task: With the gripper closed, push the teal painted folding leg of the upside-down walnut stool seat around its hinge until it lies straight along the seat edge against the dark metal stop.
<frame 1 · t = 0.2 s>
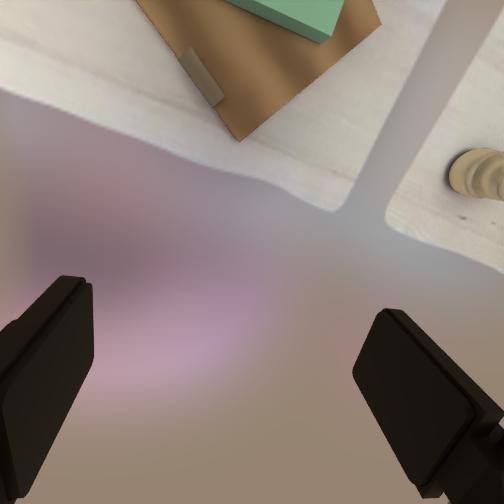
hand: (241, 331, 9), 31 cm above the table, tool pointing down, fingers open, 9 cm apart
stool seat: (249, 1, 30), on the table
plastic bottle: (462, 170, 41), on the table
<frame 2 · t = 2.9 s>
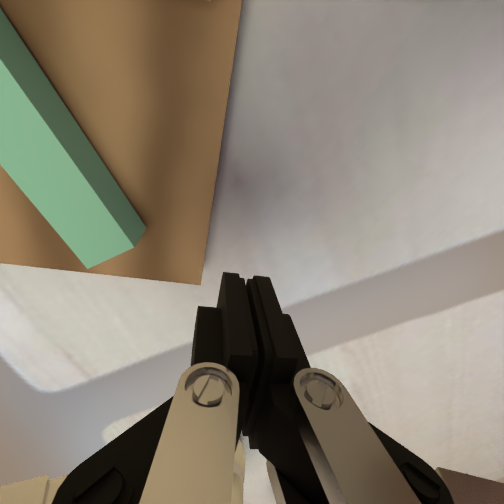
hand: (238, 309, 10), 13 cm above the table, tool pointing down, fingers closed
stool seat: (71, 109, 18), on the table
plastic bottle: (215, 436, 34), on the table
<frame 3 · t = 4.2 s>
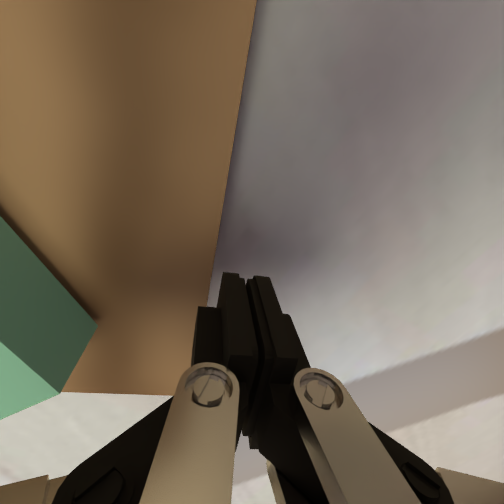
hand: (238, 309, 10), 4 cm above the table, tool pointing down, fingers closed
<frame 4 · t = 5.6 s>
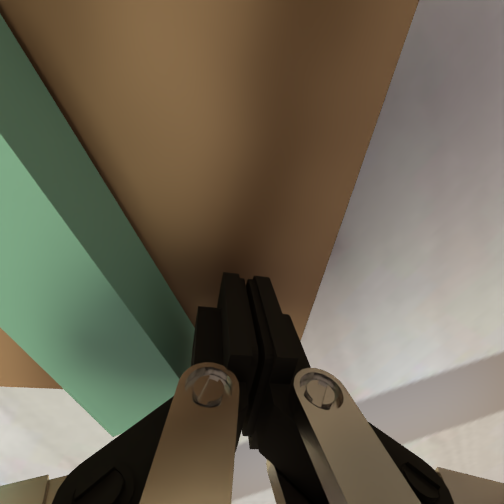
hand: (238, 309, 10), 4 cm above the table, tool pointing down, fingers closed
stool seat: (100, 148, 11), on the table
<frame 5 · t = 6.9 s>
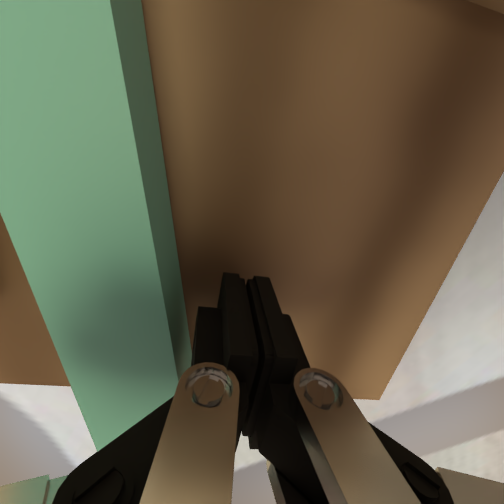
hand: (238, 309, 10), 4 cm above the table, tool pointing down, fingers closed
stool seat: (238, 172, 13), on the table
folding leg: (97, 179, 7), point 5 cm above the table, hinge at 13.1°, touching gripper
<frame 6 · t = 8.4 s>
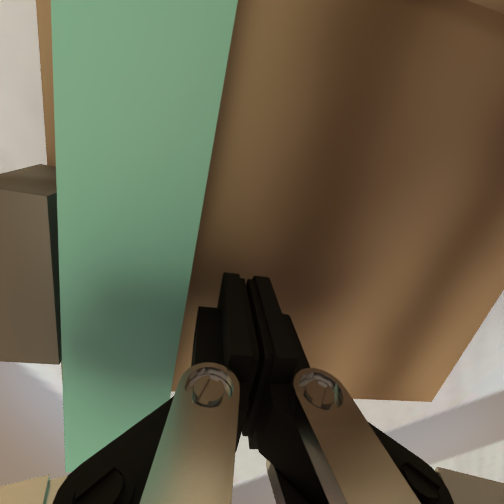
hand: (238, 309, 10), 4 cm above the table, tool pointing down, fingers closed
stool seat: (309, 186, 13), on the table
folding leg: (146, 195, 8), point 5 cm above the table, hinge at -1.4°, touching gripper
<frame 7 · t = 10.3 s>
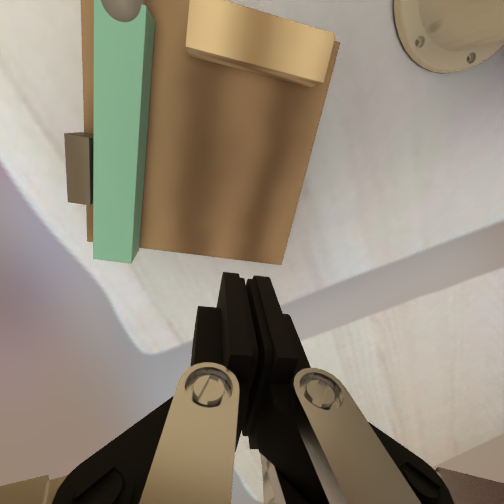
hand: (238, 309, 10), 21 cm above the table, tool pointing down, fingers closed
stool seat: (204, 147, 27), on the table
folding leg: (122, 141, 22), point 5 cm above the table, hinge at -1.0°
plastic bottle: (269, 394, 43), on the table
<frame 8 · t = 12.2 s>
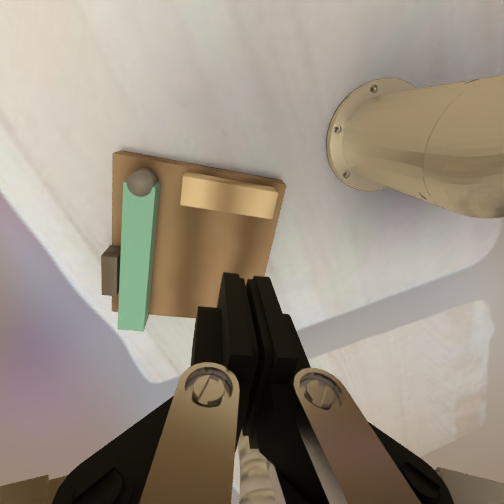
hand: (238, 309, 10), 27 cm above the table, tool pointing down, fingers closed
stool seat: (195, 242, 38), on the table
folding leg: (138, 254, 33), point 5 cm above the table, hinge at -1.0°
plastic bottle: (250, 412, 54), on the table
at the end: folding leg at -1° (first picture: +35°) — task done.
